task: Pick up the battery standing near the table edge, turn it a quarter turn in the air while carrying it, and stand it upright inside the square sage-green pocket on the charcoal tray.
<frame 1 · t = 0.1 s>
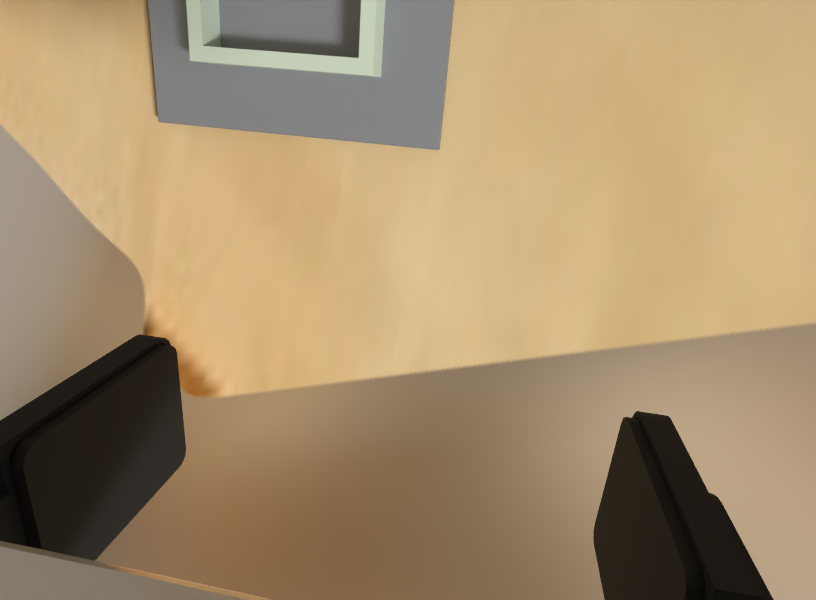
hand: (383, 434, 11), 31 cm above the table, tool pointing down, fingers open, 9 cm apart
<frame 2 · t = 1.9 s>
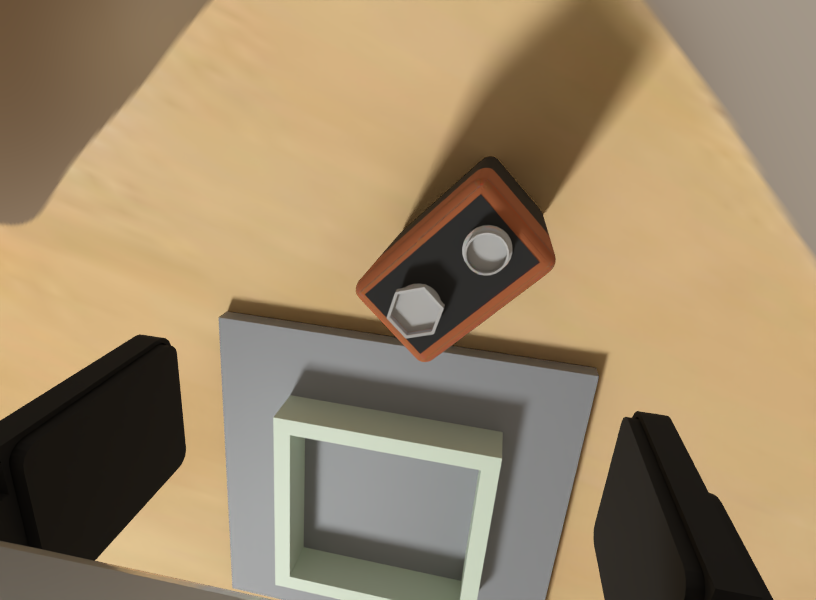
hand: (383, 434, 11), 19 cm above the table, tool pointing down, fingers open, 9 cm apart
battery: (468, 226, 28), on the table
slot tray: (389, 488, 35), on the table
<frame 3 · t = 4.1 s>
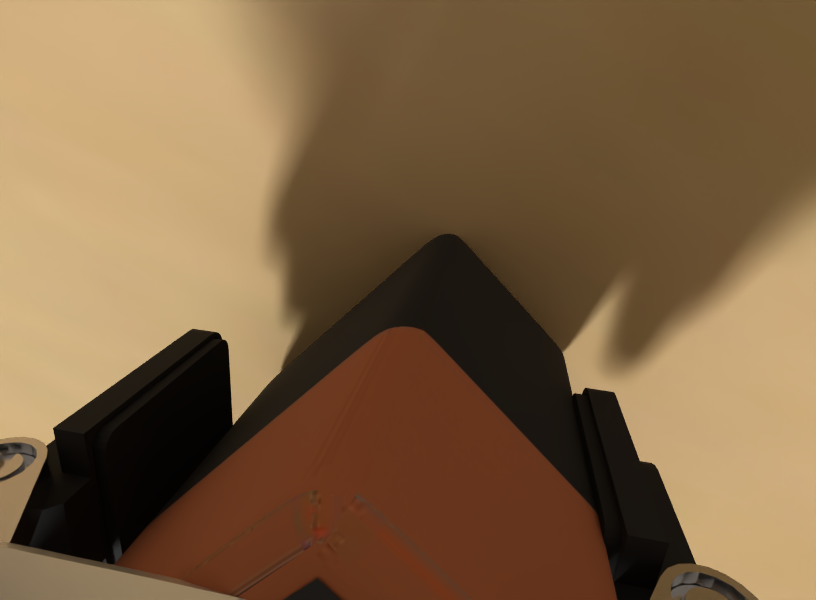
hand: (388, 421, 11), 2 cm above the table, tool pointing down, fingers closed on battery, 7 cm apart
battery: (410, 365, 14), on the table, touching gripper
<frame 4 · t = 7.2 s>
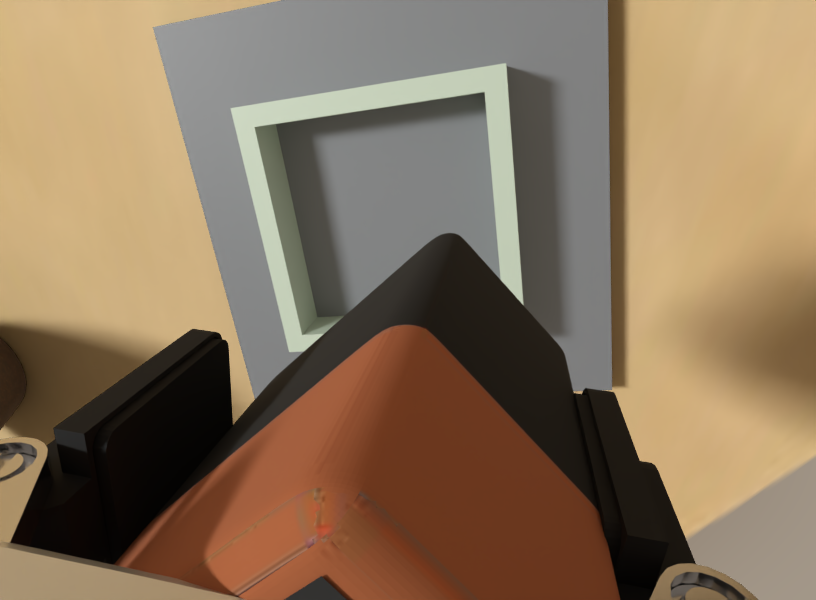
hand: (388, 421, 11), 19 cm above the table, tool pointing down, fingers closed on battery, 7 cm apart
battery: (411, 364, 14), point 16 cm above the table, touching gripper
slot tray: (396, 213, 29), on the table
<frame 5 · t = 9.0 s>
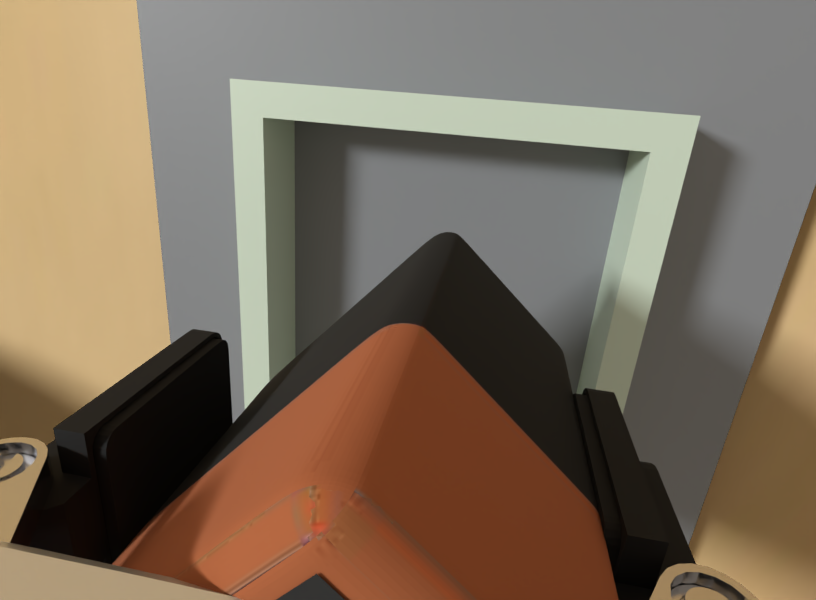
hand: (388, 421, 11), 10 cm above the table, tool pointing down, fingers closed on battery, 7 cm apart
battery: (410, 364, 14), point 7 cm above the table, touching gripper
slot tray: (442, 279, 20), on the table
when the fingers open (4 cm above the table, at t = 10.6 s): battery drops 1 cm, resting on slot tray.
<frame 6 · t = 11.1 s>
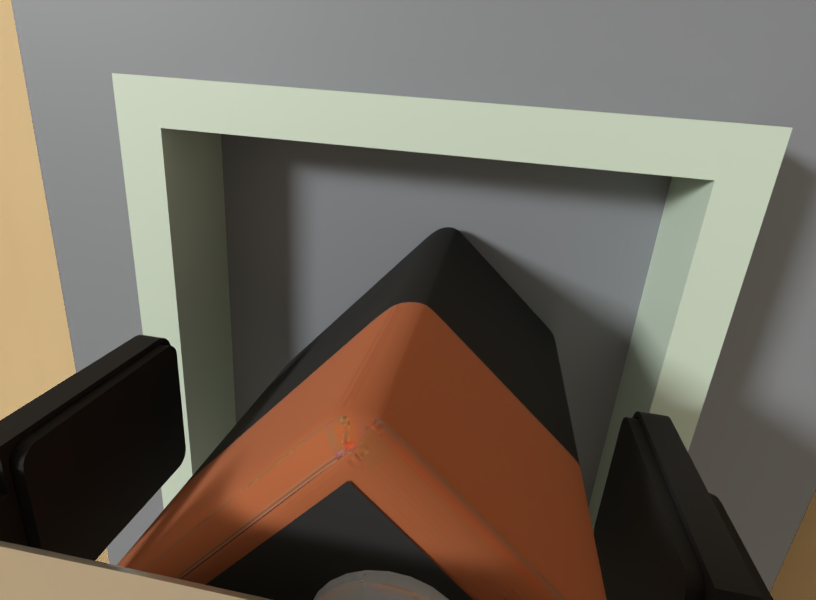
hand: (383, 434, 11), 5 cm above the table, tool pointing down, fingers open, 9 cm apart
battery: (414, 349, 15), point 1 cm above the table, touching slot tray
slot tray: (421, 333, 16), on the table
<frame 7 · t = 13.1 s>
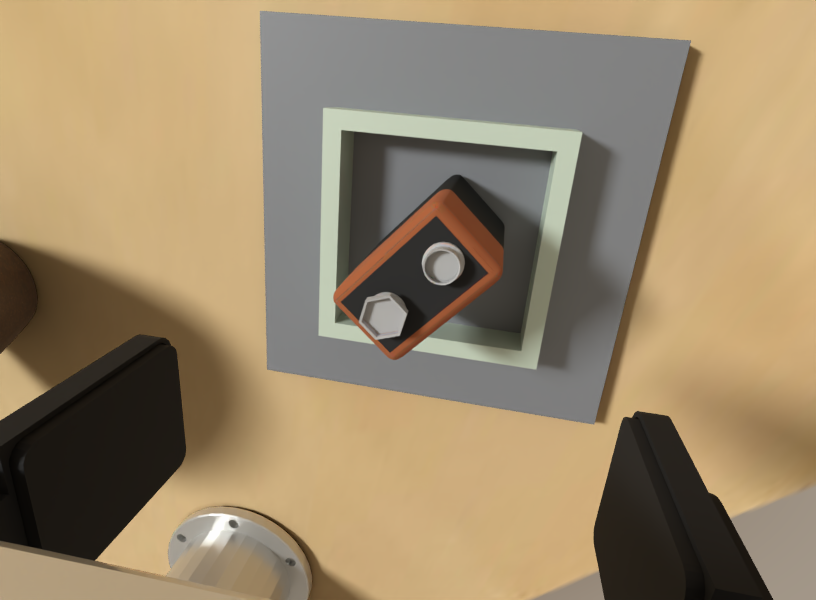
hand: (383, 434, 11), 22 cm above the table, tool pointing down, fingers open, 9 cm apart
battery: (439, 236, 31), point 1 cm above the table, touching slot tray
slot tray: (442, 230, 32), on the table
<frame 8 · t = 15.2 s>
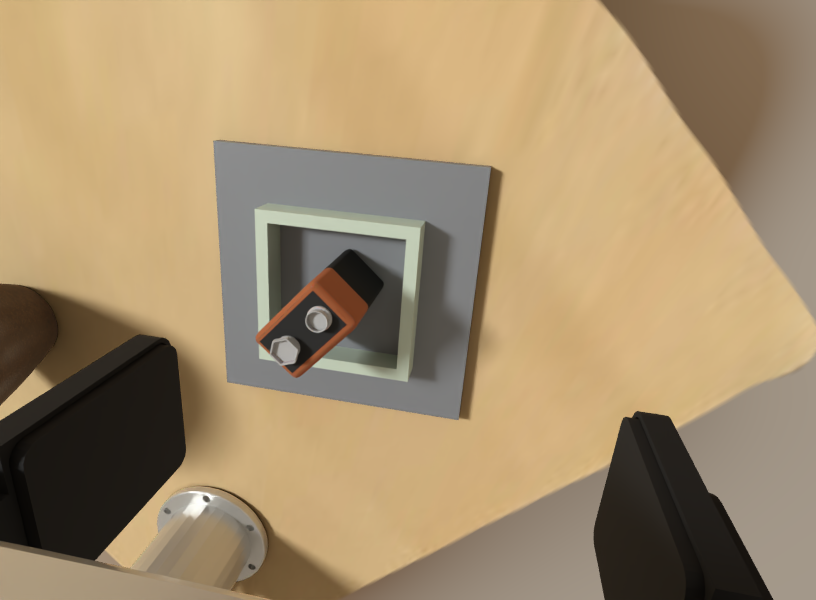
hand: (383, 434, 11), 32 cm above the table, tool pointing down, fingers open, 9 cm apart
battery: (342, 288, 45), point 1 cm above the table, touching slot tray
plant pot: (27, 316, 53), on the table
slot tray: (346, 284, 45), on the table
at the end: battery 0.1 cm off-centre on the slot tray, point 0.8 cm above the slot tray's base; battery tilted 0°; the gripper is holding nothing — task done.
